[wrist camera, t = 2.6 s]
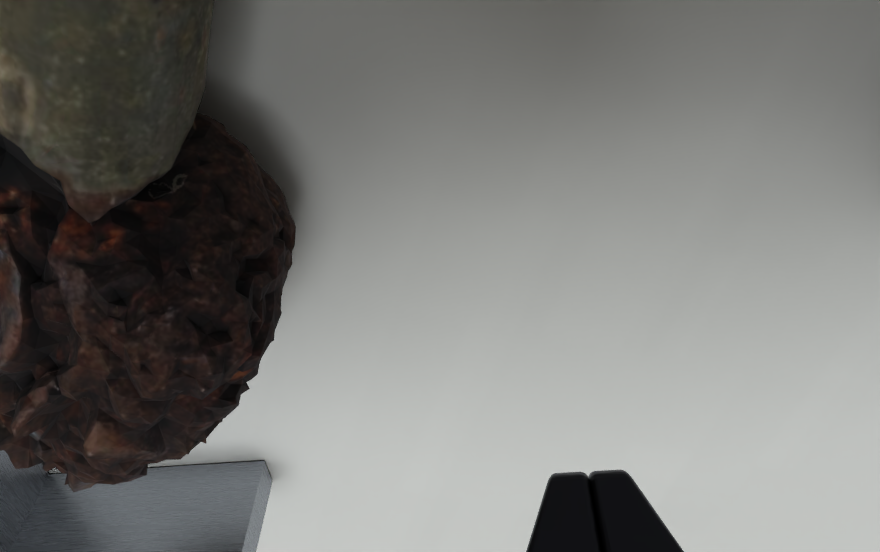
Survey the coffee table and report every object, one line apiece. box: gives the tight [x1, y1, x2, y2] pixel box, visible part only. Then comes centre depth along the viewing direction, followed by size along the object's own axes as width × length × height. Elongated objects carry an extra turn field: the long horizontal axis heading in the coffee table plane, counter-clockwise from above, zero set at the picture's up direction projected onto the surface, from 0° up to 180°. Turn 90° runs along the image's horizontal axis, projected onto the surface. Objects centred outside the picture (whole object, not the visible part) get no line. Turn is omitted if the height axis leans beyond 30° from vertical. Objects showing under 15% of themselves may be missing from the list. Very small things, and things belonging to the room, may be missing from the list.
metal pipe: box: [0, 0, 296, 492], centre depth 15 cm, size 18×7×6 cm, turn 165°
